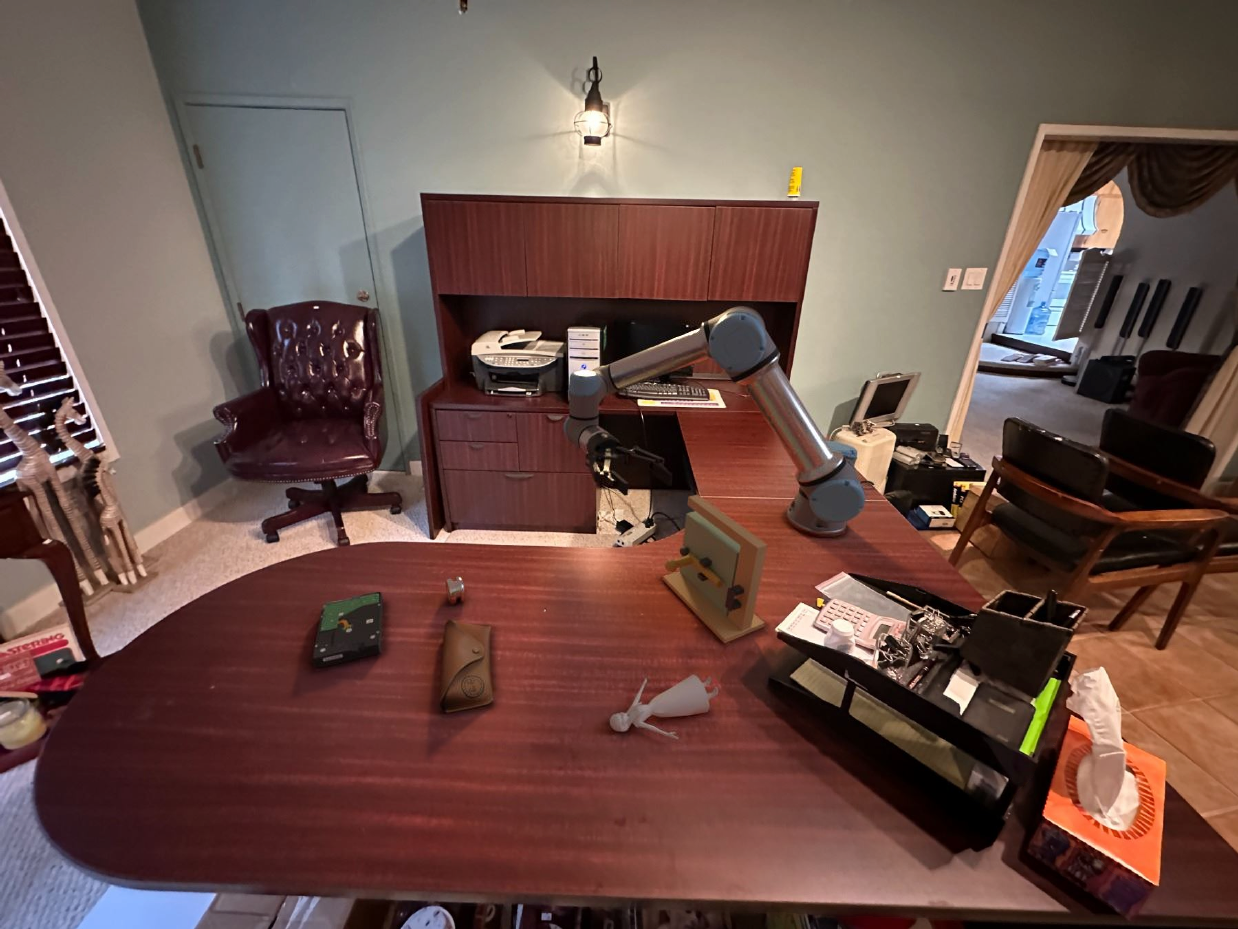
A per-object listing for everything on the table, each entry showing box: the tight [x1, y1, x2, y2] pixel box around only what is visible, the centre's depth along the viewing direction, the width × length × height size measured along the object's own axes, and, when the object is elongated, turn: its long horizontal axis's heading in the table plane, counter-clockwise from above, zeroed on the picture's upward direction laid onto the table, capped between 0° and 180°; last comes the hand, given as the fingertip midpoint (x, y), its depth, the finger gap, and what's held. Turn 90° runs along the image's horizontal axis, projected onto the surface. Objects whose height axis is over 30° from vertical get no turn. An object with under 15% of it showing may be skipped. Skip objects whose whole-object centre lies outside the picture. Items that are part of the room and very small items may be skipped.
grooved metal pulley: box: [445, 575, 467, 605], centre depth 99 cm, size 5×3×5 cm, turn 29°
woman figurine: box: [609, 673, 719, 740], centre depth 77 cm, size 12×4×18 cm
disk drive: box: [312, 591, 384, 669], centre depth 90 cm, size 10×3×15 cm
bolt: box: [664, 553, 723, 587], centre depth 99 cm, size 7×10×3 cm
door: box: [662, 494, 768, 644], centre depth 99 cm, size 10×21×20 cm, turn 29°
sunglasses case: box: [439, 618, 495, 714], centre depth 84 cm, size 18×7×7 cm, turn 16°
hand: (649, 484), depth 102 cm, fingers open, 10 cm apart
